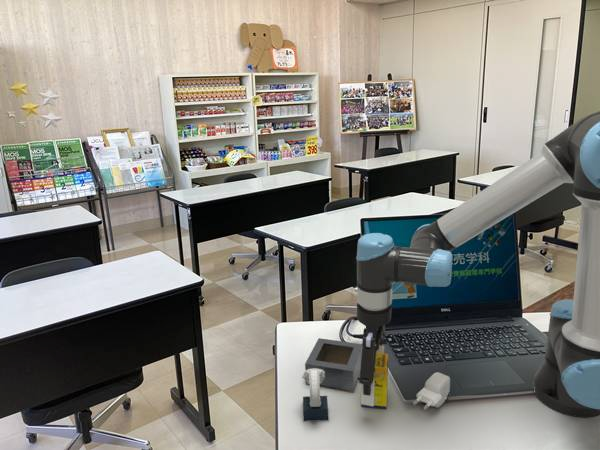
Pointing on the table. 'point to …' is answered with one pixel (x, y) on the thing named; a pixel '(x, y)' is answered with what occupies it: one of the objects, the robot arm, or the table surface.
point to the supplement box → (380, 381)
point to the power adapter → (434, 391)
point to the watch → (314, 397)
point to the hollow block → (336, 363)
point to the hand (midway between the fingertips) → (373, 385)
